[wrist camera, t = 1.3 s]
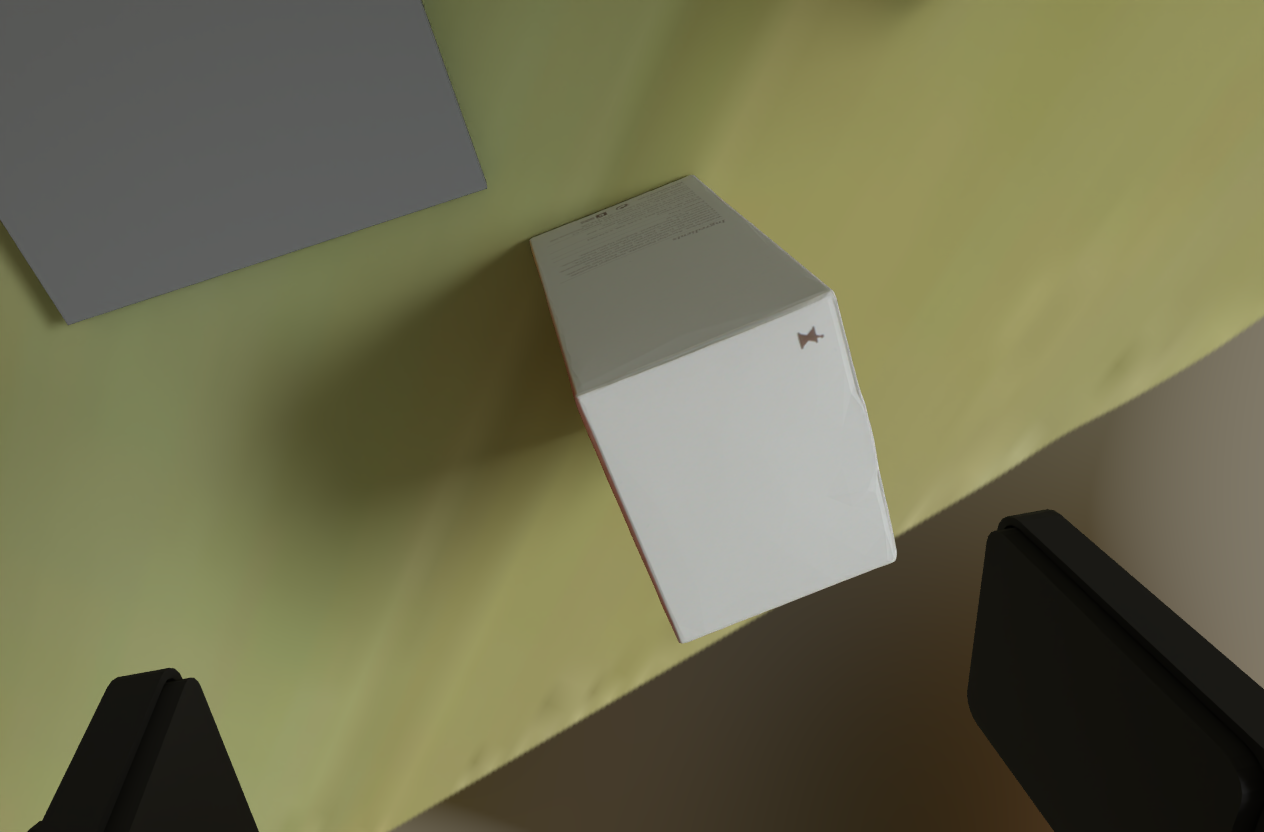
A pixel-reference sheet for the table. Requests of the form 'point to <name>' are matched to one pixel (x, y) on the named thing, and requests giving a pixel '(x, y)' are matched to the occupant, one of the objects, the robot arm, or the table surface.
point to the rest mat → (214, 135)
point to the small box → (716, 404)
